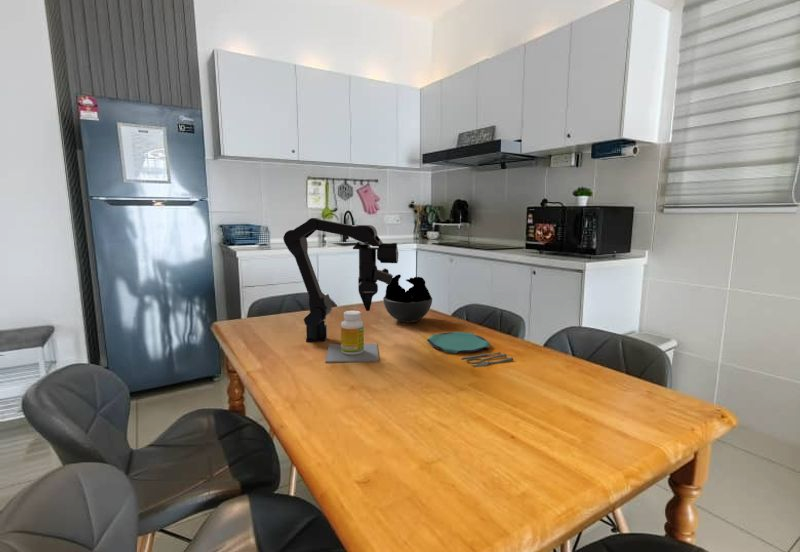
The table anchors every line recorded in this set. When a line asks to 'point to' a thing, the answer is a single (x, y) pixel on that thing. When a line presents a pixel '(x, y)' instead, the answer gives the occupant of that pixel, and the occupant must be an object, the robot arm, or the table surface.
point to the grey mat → (366, 356)
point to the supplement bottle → (352, 333)
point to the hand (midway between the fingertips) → (367, 307)
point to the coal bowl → (407, 300)
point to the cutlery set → (464, 346)
